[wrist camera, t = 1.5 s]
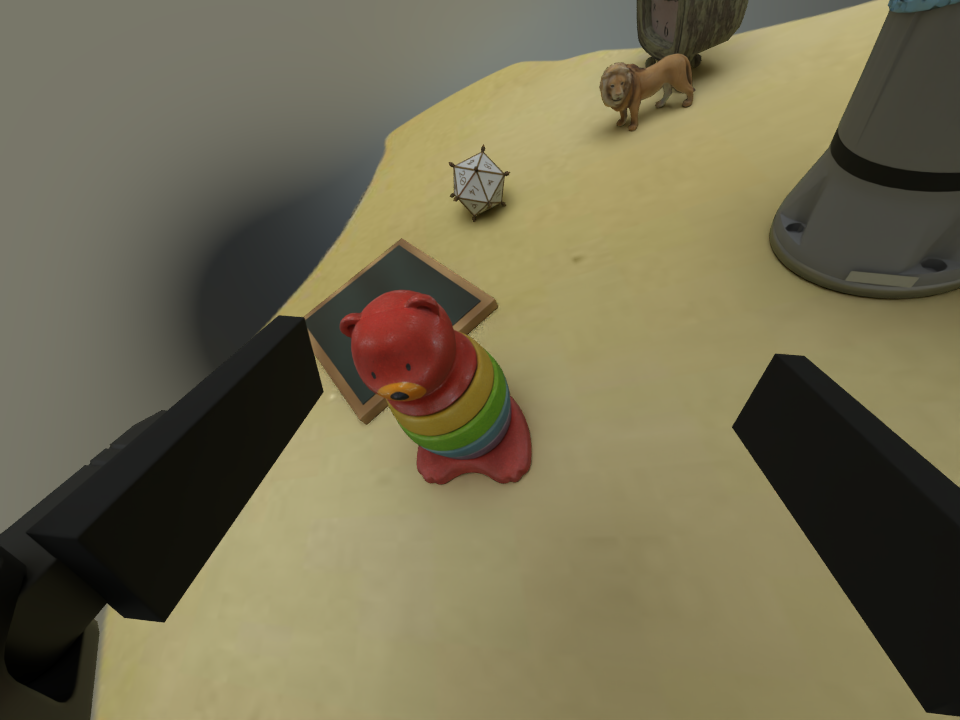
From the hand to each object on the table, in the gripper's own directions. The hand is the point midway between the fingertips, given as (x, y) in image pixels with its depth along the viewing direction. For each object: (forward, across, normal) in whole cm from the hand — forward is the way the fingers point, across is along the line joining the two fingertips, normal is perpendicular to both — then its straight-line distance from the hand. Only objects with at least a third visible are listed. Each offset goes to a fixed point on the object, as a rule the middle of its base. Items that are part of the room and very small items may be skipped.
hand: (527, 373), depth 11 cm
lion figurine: (+58, +18, +6) cm, 62 cm away
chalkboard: (+33, -15, -17) cm, 40 cm away
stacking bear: (+17, -2, -19) cm, 26 cm away
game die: (+49, -4, -6) cm, 50 cm away
